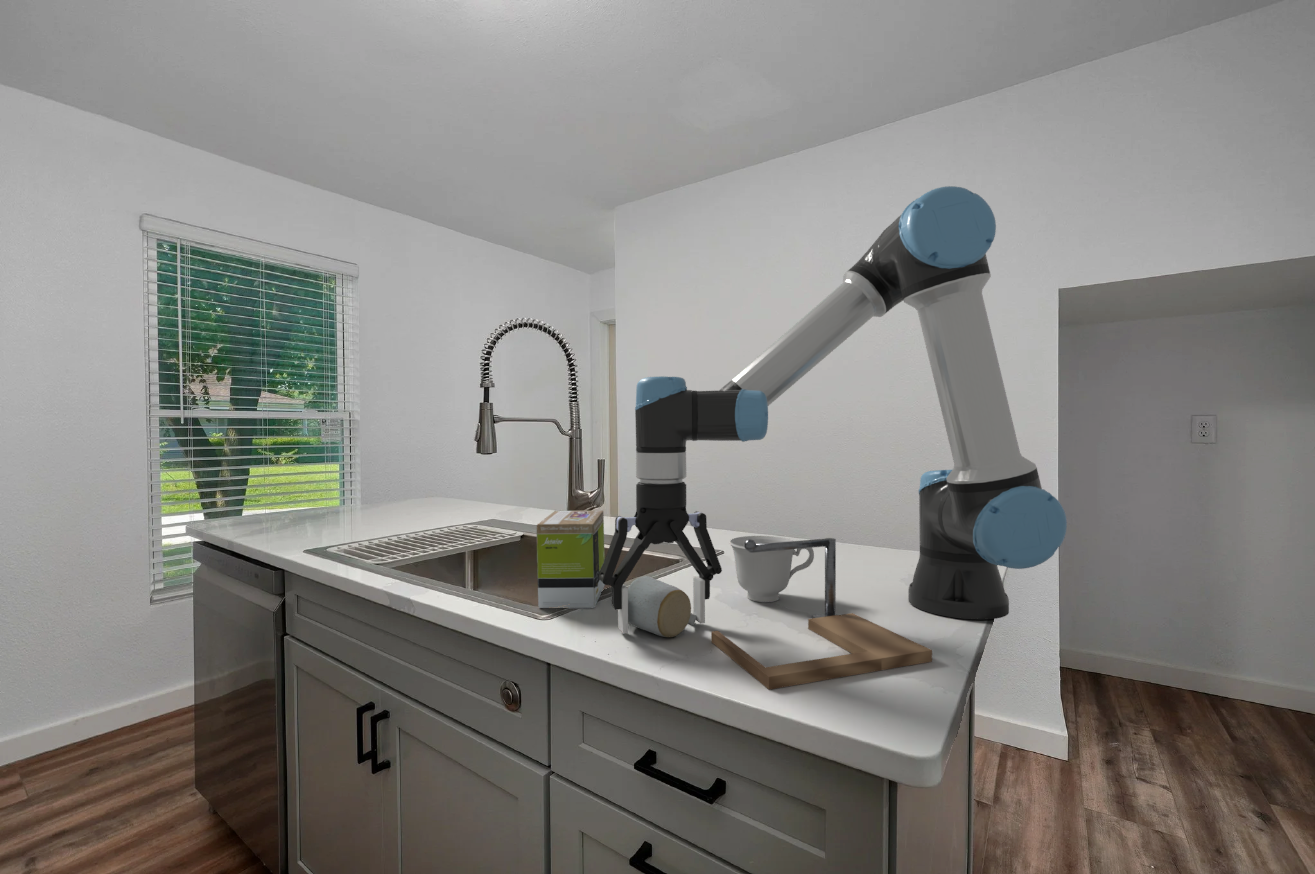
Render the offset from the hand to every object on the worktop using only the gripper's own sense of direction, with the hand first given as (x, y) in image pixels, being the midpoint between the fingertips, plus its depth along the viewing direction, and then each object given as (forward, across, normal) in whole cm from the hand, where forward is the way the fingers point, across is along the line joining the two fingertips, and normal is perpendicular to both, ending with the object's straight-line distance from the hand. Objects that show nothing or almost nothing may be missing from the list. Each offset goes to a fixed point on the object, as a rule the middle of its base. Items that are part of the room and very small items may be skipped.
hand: (661, 625), depth 88 cm
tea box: (+1, +9, -22) cm, 24 cm away
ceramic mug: (+1, 0, 0) cm, 1 cm away
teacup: (+1, -24, -9) cm, 26 cm away
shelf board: (+1, -17, +15) cm, 23 cm away
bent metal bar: (+1, -19, +5) cm, 20 cm away
